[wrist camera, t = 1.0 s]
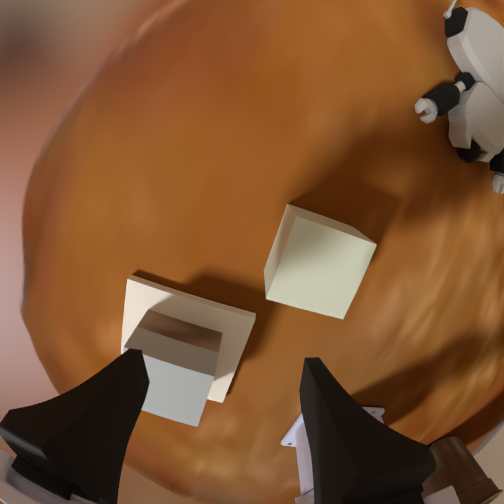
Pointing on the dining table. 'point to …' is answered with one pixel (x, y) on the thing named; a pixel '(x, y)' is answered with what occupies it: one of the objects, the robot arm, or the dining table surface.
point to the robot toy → (473, 90)
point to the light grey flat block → (175, 375)
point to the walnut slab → (181, 330)
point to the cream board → (195, 312)
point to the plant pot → (459, 473)
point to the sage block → (316, 263)
